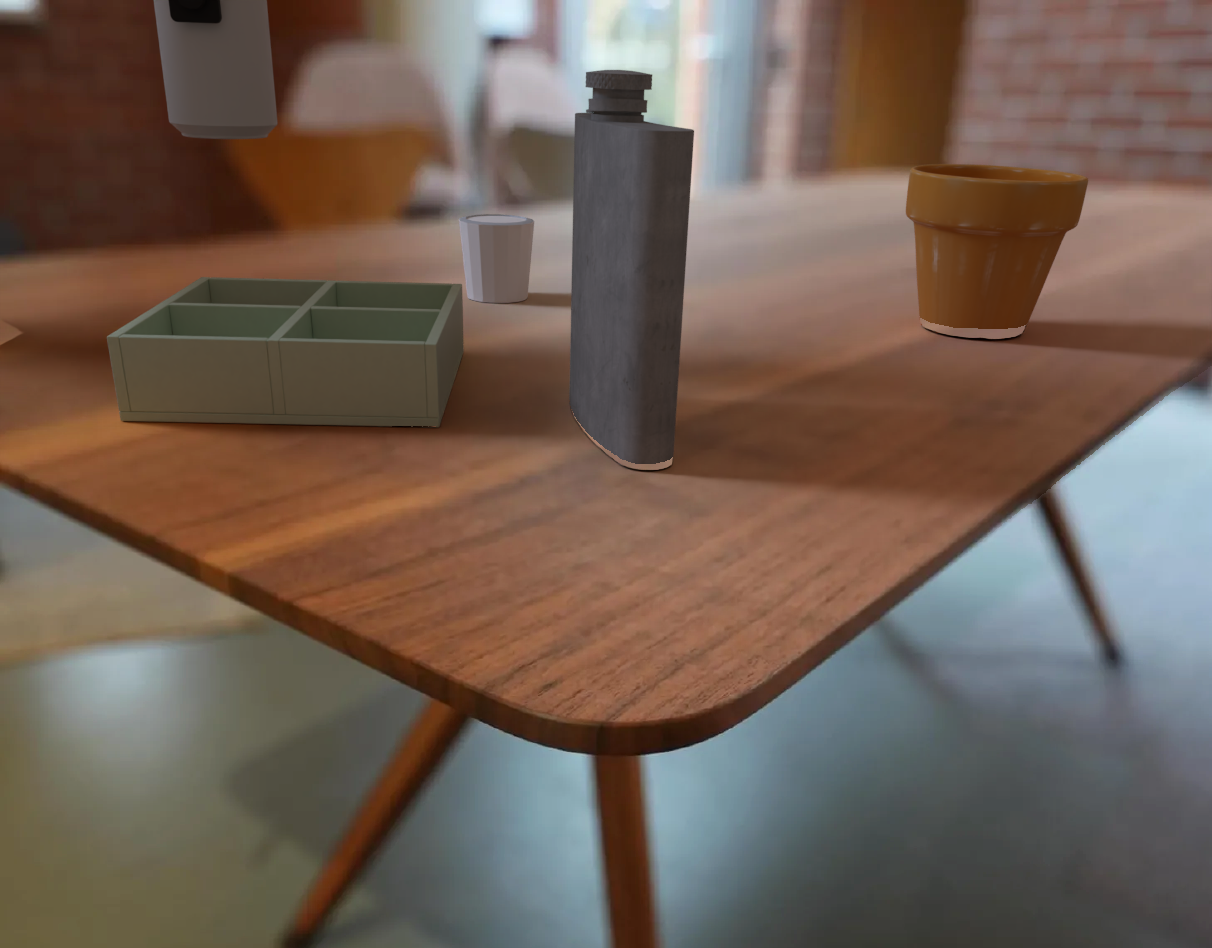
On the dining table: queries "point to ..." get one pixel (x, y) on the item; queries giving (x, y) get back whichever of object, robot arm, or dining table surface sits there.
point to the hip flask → (628, 268)
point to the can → (219, 72)
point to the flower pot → (987, 239)
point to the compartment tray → (292, 353)
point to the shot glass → (496, 256)
